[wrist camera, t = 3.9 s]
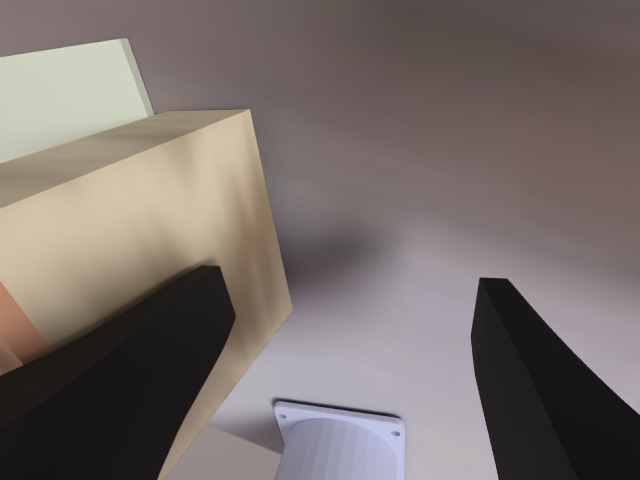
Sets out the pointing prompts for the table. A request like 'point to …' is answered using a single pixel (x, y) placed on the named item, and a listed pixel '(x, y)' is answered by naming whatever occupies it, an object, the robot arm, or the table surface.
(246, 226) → the birch slab
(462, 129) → the table surface
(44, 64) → the green board
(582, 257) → the table surface
